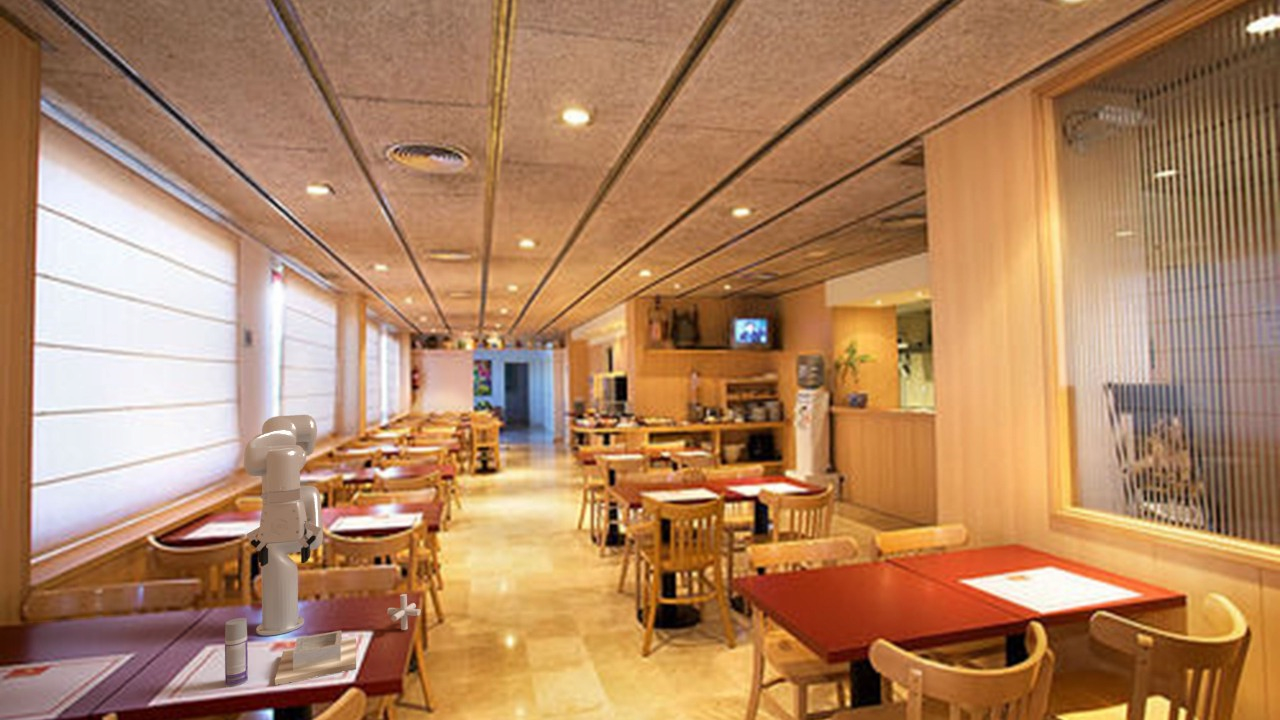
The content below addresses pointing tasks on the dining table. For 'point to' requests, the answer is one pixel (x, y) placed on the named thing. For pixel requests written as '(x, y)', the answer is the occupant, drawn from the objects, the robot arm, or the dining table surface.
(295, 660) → the duct collar
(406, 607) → the pipe connector
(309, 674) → the birch board
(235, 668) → the container
